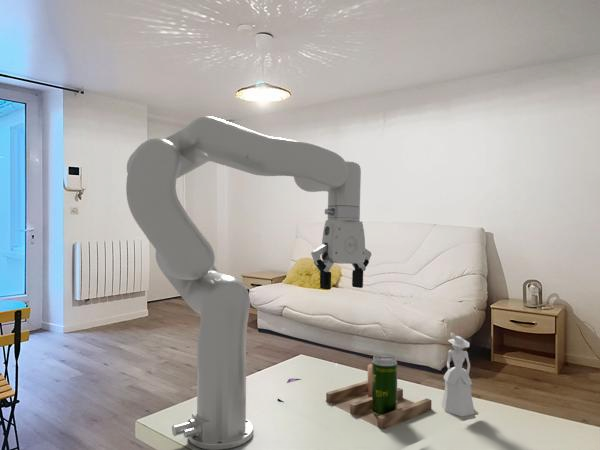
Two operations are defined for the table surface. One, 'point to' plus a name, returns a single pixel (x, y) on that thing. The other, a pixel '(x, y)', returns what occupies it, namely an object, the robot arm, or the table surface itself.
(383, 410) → the beer can
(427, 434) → the table surface
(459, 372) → the figurine
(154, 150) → the robot arm
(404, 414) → the rack
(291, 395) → the table surface
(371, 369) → the peach rounded cylinder
